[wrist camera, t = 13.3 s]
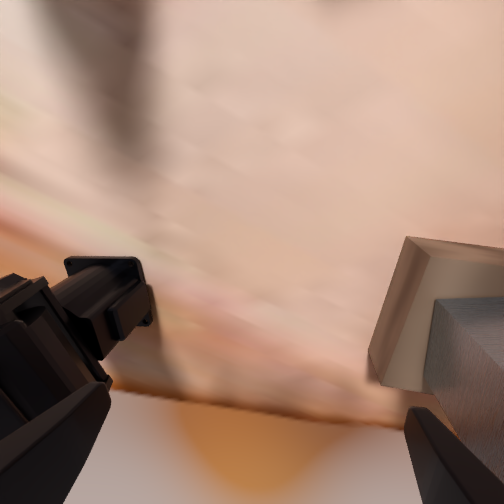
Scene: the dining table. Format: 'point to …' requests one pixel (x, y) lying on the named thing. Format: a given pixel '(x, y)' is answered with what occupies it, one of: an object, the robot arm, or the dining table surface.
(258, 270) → the dining table surface
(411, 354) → the walnut block
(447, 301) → the slate tin
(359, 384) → the dining table surface
